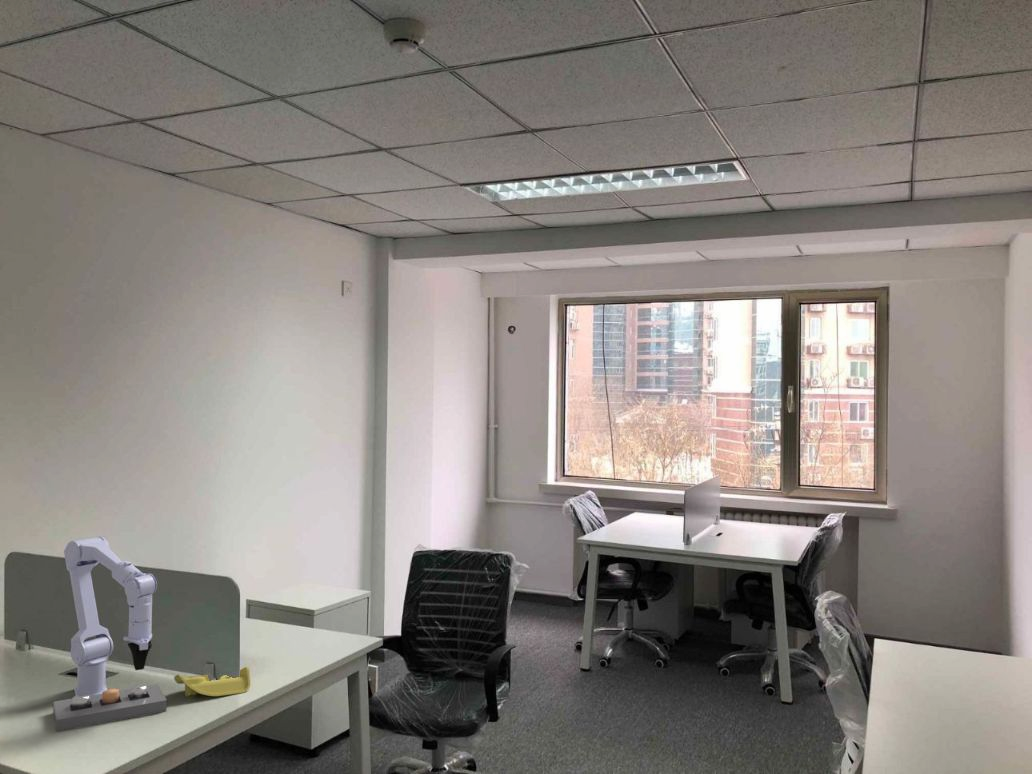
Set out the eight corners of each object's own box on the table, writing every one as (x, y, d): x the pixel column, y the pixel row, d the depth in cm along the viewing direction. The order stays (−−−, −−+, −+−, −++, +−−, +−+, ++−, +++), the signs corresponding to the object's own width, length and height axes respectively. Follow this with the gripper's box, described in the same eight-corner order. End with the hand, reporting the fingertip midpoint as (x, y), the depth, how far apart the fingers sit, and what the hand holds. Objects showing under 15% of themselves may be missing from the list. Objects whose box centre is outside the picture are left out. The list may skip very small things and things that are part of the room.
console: (53, 712, 215) (53, 701, 215) (157, 694, 229) (157, 684, 229) (56, 731, 203) (56, 720, 203) (166, 711, 217) (166, 700, 217)
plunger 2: (129, 694, 220) (129, 685, 220) (145, 691, 222) (145, 683, 222) (131, 699, 217) (131, 690, 217) (147, 696, 219) (147, 687, 219)
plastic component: (238, 671, 242) (249, 665, 235) (240, 697, 239) (251, 691, 232) (170, 679, 231) (179, 673, 224) (170, 706, 228) (179, 700, 221)
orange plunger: (101, 699, 216) (101, 690, 216) (117, 696, 219) (117, 687, 219) (102, 704, 213) (103, 695, 213) (119, 701, 215) (119, 692, 215)
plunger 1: (71, 704, 213) (72, 695, 213) (88, 701, 215) (89, 692, 215) (73, 709, 209) (73, 700, 209) (90, 706, 211) (90, 697, 211)
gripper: (120, 615, 224) (119, 663, 224) (127, 628, 212) (126, 679, 211) (148, 611, 228) (147, 659, 227) (156, 624, 215) (155, 675, 215)
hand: (139, 669), depth 220 cm, fingers closed
